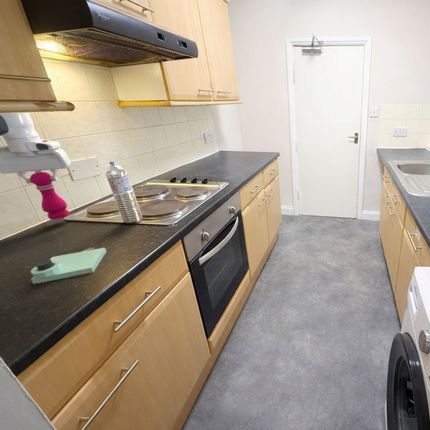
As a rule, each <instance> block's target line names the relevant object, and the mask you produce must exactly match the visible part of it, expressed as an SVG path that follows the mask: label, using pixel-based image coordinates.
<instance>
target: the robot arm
mask: <svg viewBox="0 0 430 430" xmlns="http://www.w3.org/2000/svg"><path fill="white" fill-rule="evenodd" d="M34 125H35V124H34V121H33V119H32V116H31V115H30V113H29V112H28V113H0V137H2V138H3V139H4V140H3V141H5V143H6V145H7V146H0V174H3V175H5V174H15V173H17V175H18V176H19V177H20V178H21V179H23V180H25V183H26V184H28V185H30V184H33V183H32V182H31V180H30V177H29V176H28V175H27V173H29V172H35V171H41V172H43V171H50V173H52V175H51V177H50V179H51V181H52V182H58V181H59V178H58V173H59V170H65V169H68V168H70V167H71V165H72V162H71V160H70V158H69V156H68V154H67V152H66V151H65V150H64V149H62V148H61V143H60V142H59V141H56V140H50V139H45V138H41V136H40V135H39V134H38V132H37V130H36V129H35V126H34Z"/></svg>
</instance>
